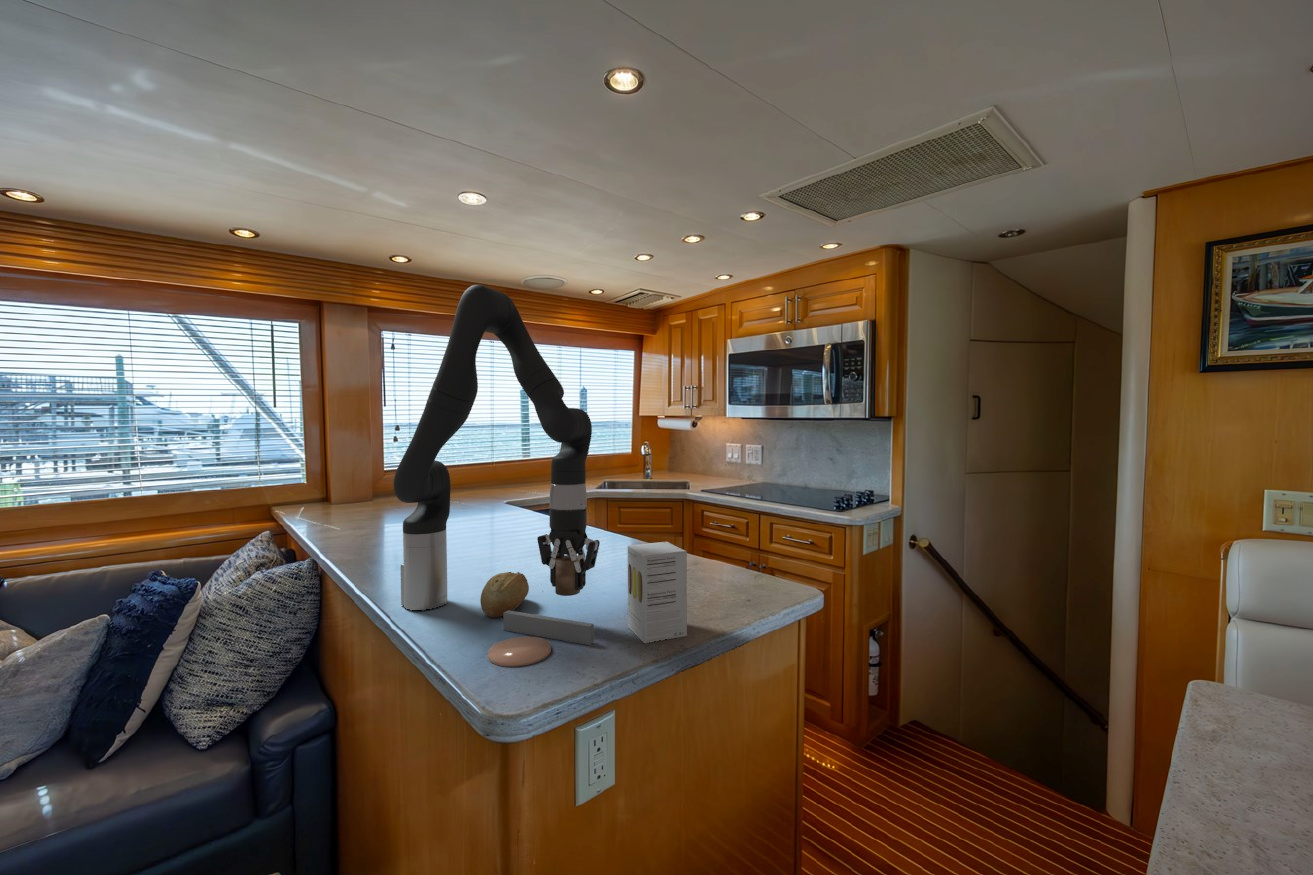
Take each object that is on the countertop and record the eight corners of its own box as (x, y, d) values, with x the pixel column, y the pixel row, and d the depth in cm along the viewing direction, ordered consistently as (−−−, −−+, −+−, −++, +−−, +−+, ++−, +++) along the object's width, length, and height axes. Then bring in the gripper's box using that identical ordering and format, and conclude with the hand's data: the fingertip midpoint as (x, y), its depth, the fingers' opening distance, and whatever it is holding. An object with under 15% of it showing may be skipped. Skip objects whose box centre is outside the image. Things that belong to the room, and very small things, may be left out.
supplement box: (626, 627, 108) (625, 544, 108) (668, 620, 112) (667, 540, 112) (644, 644, 99) (643, 554, 99) (688, 636, 103) (687, 549, 103)
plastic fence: (503, 629, 107) (503, 612, 107) (508, 627, 109) (508, 610, 109) (589, 645, 99) (589, 626, 99) (593, 642, 101) (593, 623, 101)
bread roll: (536, 597, 128) (535, 564, 127) (517, 620, 113) (516, 583, 113) (496, 597, 128) (496, 564, 128) (472, 620, 113) (472, 583, 113)
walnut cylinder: (550, 593, 108) (550, 559, 108) (564, 586, 113) (564, 554, 113) (571, 597, 106) (571, 562, 106) (584, 590, 111) (584, 556, 111)
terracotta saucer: (474, 660, 93) (474, 655, 93) (514, 637, 103) (514, 633, 103) (526, 671, 89) (526, 666, 89) (562, 646, 99) (562, 641, 99)
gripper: (528, 505, 108) (527, 588, 109) (589, 510, 103) (588, 597, 103) (549, 500, 115) (549, 578, 116) (607, 505, 110) (607, 587, 110)
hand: (567, 587), depth 109 cm, fingers closed on walnut cylinder, 5 cm apart
